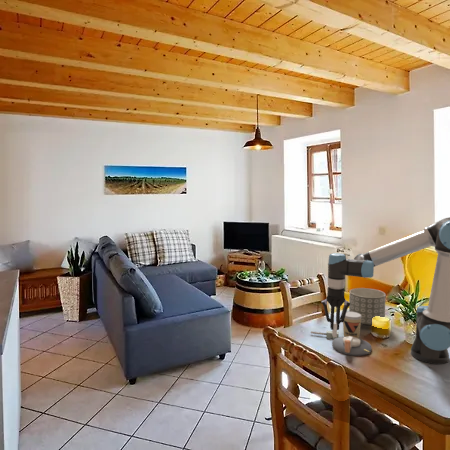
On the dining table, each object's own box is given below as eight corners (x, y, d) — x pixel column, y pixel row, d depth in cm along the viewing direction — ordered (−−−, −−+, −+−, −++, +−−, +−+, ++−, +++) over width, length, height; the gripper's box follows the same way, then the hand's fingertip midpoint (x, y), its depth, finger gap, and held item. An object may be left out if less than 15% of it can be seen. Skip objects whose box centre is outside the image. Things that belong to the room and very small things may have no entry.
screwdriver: (338, 337, 185) (338, 332, 185) (338, 339, 183) (338, 334, 182) (311, 333, 190) (311, 328, 190) (310, 335, 187) (310, 330, 187)
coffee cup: (341, 338, 183) (341, 316, 182) (342, 332, 192) (343, 310, 190) (360, 341, 179) (361, 318, 178) (361, 334, 188) (361, 312, 187)
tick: (363, 350, 166) (363, 349, 166) (364, 349, 167) (364, 349, 167) (368, 352, 164) (368, 351, 164) (369, 351, 165) (369, 351, 164)
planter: (346, 317, 214) (346, 287, 212) (379, 318, 211) (379, 288, 210) (352, 329, 195) (353, 297, 193) (389, 330, 193) (390, 298, 191)
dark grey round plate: (373, 343, 176) (373, 340, 176) (368, 359, 161) (368, 355, 161) (336, 336, 185) (336, 333, 185) (328, 350, 170) (328, 346, 170)
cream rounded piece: (344, 338, 178) (345, 329, 178) (361, 341, 174) (361, 332, 174) (337, 350, 165) (338, 340, 165) (356, 354, 161) (356, 343, 161)
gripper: (348, 285, 167) (346, 333, 169) (320, 284, 168) (318, 332, 170) (352, 289, 159) (350, 340, 162) (323, 288, 161) (321, 338, 163)
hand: (334, 336), depth 166 cm, fingers closed
